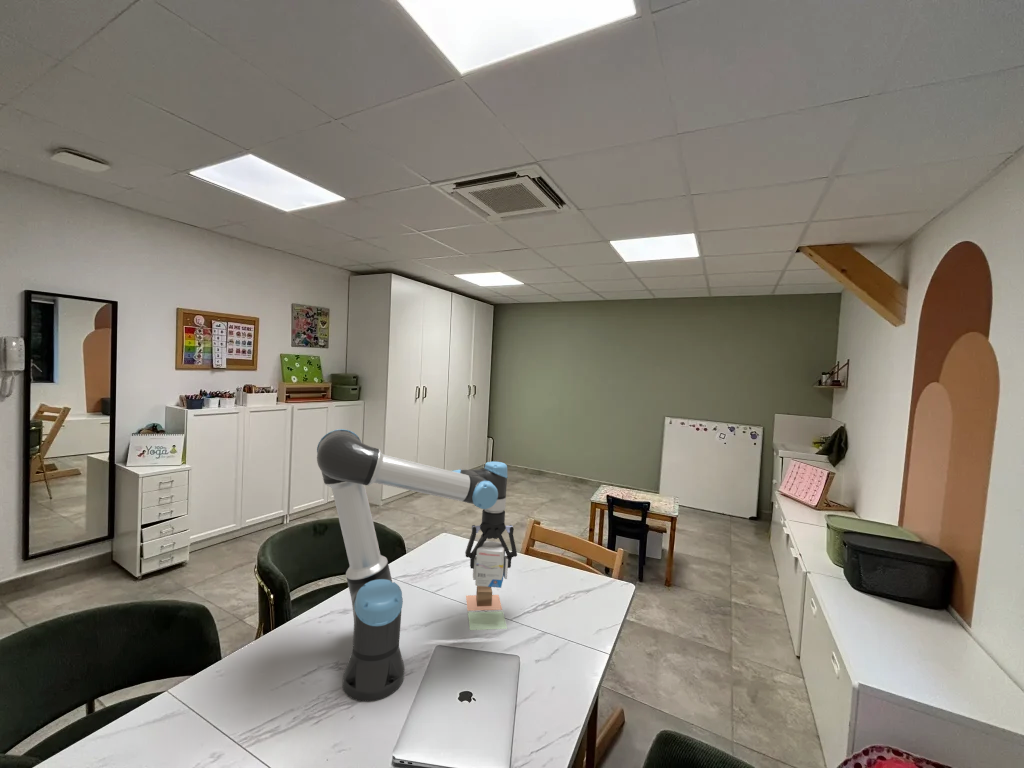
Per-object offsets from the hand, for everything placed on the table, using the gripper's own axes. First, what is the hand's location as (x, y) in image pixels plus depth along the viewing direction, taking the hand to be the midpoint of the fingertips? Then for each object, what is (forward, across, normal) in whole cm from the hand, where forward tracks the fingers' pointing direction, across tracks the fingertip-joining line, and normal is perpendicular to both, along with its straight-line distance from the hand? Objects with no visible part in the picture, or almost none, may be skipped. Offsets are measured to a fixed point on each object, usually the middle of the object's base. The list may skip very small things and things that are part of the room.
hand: (489, 577), depth 134 cm
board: (+15, 0, -6) cm, 16 cm away
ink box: (+1, 0, 0) cm, 1 cm away
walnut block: (+14, 0, -11) cm, 18 cm away
